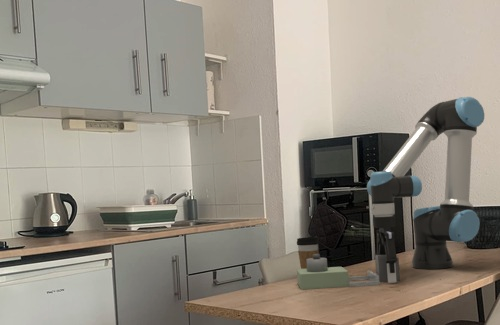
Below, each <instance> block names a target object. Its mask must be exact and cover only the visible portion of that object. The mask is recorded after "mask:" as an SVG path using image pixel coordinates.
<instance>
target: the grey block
mask: <svg viewBox="0 0 500 325" xmlns="http://www.w3.org/2000/svg"><path fill="white" fill-rule="evenodd" d="M374 256H375V258H374V261H375V262H374V263H375V274H377V275H379V281H380V283H388V275H387V264H386V261H387V256H386V255H377V254H375V255H374ZM395 266H396V281H397V282H401V274H400V259H399V257H398V256H397V262H396V263H395Z"/></svg>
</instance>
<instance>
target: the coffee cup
mask: <svg viewBox="0 0 500 325" xmlns="http://www.w3.org/2000/svg"><path fill="white" fill-rule="evenodd" d="M319 244H320V242H319V236H309V237H298V238H297V239H296V245H297V249H298V251H297V253H298V259H299V265H300V269H307V261H306V259H309V258H313V254H319Z"/></svg>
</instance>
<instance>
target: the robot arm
mask: <svg viewBox="0 0 500 325" xmlns="http://www.w3.org/2000/svg"><path fill="white" fill-rule="evenodd" d="M484 120H485V110H484V108H483V106H482V104H481V103H480V101H479V100H478V99H476V98H474V97H472V96H464V97H458V98H455V99H450V100H446V101H442V102H438V103H436V104H434V105H433V106H431V108H429V109H428V110H427V111H426V112H425V113H424V114H423V115H422V116H421V118H420V119H419V120H418V121H417V123H416V124H415V125H414V130H413V132H412V133H411V134H410V136H408V138H407V139H406V141H405V142H404V143H403V145H402V146H401V147H400V148H399V150H398V151H397V152H396V154H395V155H394V156H393V157H392V159H391V160H390V161H389V162H388V164H387V165H386V166H385V167H384V169H382V171H373V172H371V174H370V179H369V180H368V182H367V184H366V191H367V194H369V196H370V197H371V204H372V205H371V206H370V210H371V211H372V216H373V217H372V226H373V228H375V229H376V228H378V229H377V230H376V255H386V256H387V261H386V264H387V275H388V282H387V283H388V284H392V283H395V284H396V283H397V282H398V281H396V266H395V263H396V262H397V257H398V256H397V252H396V251H397V250H396V245H395V235H394V234H395V233H394V232H393V231H391V228H395V227H396V217H395V214H396V213H395V212H396V211H395V210H396V209H395V198H397V199H398V198H412V197H418V196H419V195H420V194H421V192H422V190H423V182H422V180H421V179H420V178H419V177H418V176H417V175H406V174H407V173H408V172H409V170H410V169H411V168H412V166H413V165H414V164H415V162H416V161H417V160H418V159H419V158H420V156H421V155H422V153H423V152H424V151H425V149H426V148H427V147H428V146H429V144H430V143H431V142H432V141H435V140H436V139H437V138H438V137H439V136H440V135H442V134H444V135H445V136H446V137H447V146H446V147H447V149H446V168H445V187H444V188H445V189H444V199H443V201H442V202H440V204H439V205H438V206H429V207H422V208H417V209H414V211H413V218H412V221H413V231H414V232H413V233H414V242H415V249H414V251H413V252H414V253H413V256H412V260H411V263H412V264H411V265H412V266H411V267H412V268H414V269H421V270H442V269H448V268H449V269H450V268H452V267H454V263H453V262H454V261H453V258H452V256H451V254H450V252H449V248H448V246H447V242H455V243H462V242H463V243H466V242H470V241H472V240H473V239H474V238H475V237H476V236H477V235H478V233H479V230H480V225H481V224H480V218H479V217H478V214H477V213H476V212H475V211H474V205H473V204H472V203H471V202H470V188H471V187H470V186H471V167H472V166H471V165H472V148H473V147H472V145H473V143H472V142H473V138H474V137H475V136H476V135H477V132H478V127H480V126H481V125H482V124H483V123H484Z"/></svg>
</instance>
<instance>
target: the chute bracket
mask: <svg viewBox="0 0 500 325" xmlns="http://www.w3.org/2000/svg"><path fill="white" fill-rule="evenodd" d="M366 271H367V272H366V274H367V275H357V276H355V275H354V276H348V278H349V287H351V288H352V287H353V288H356V287H369V286H380V284H381V282H380V281H379V275H377V274H376V272H373V271H372V270H366ZM367 279H368V280H369V281H368V280H367ZM364 280H365V281H364ZM350 281H353V282H350ZM354 281H355V282H354Z"/></svg>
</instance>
